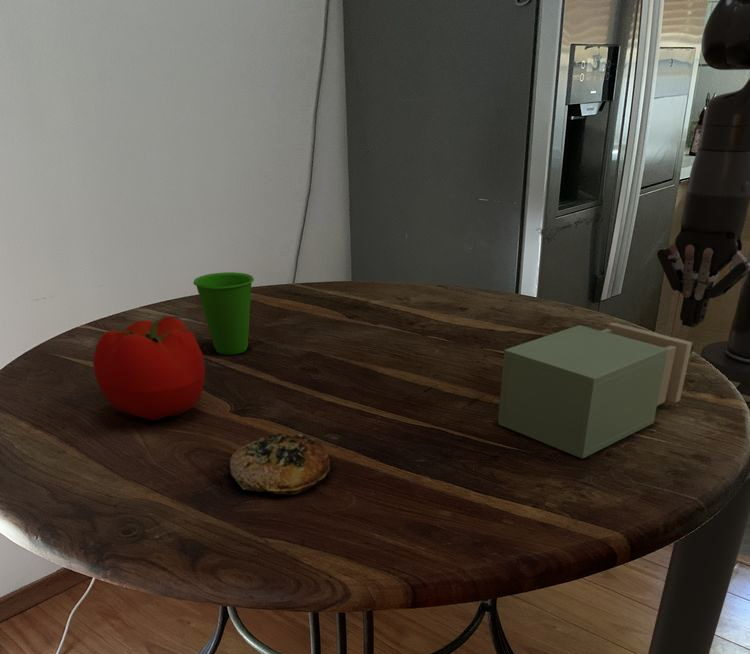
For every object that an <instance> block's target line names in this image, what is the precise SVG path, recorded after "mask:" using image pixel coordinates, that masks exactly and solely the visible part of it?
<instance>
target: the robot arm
mask: <svg viewBox="0 0 750 654" xmlns="http://www.w3.org/2000/svg"><path fill="white" fill-rule="evenodd" d="M701 53H702V56H703V60H704V62H705V64H707V65H708V66H709V67H710V68H711V69H713V70H719V71H750V0H719V1H718V2H717V3H716V5H715V6H714V8H713V9H712V11H711V14H709V17H708V19H707V21H706V24H705V27H704V30H703V32H702V37H701ZM749 206H750V78H748V80H747V82H746V83H745V84H744V85H743V87H741V88H739V89H738V90H735V91H732V92H726V93H722V94H718V95H716V96H713V97H712V98H711V99H709V101H708V102H707V104H706V107H705V110H704V113H703V117H702V123H701V129H700V133H699V137H698V144H697V149H696V153H695V156H694V159H693V162H692V166H691V170H690V173H689V178H688V182H687V189H686V194H685V201H684V204H683V209H682V215H681V219H680V220H681V221H680V230H679V232H678V233H677V235H676V237H675V239H674V242H673V243H672V244H670V245H669V246H667V247H664V248H662V249H659V250H658V251H657V252H656V257H657V259H658V260H659V263H660V265H661V268H662V270H663V272H664V274H665V276H666V279H667V281H668V283H669V286H670V287H671V290H673V291H674V292H676V291H677V292H679V293H680V294H682V297H683V298H682V303H681V309H680V313H679V319H680V321H681V325H682V326H685V327H690V328H695V327H697V326H699V325H700V324H701V323H703V322H704V320H705V319H706V314H707V309H708V305H709V301H710V299H714V298H718V297H720V296H723V295H725V294H726V293H727V292H729V290H731V289H732V288H733V287H734V286H735V285H736V284H738V283H739V282H740V281H741V280H742V279H743V280H742V281H741V282H742V283H741V287H740V290H739V295H738V298H737V303H736V308H735V312H734V316H733V317H732V322H731V326H730V330H729V334H728V338H727V341H728V344H727V347H726V350H725V355H726V356H727V357H728V358H730V359H732V360H734V361H737V362H740V363H744V364H749V365H750V251H749V252H748V257H746V256H745V255H744V253H743V252H742V249H743V243H742V238H741V236H742V233H743V230H744V228H745V222H746V219H747V214H748V211H749ZM680 260H681V261H680ZM730 263H731V264H730ZM729 264H730V265H729ZM728 265H729V268H728V270H729V272H728V273H727V274H726V275H725V276H723V277H722V278H721V279H720V280H719V281H718V279H719V277H720V273H721V271H722V270H723V269H724V268H726V267H727V266H728Z"/></svg>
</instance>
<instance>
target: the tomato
mask: <svg viewBox="0 0 750 654" xmlns="http://www.w3.org/2000/svg"><path fill="white" fill-rule="evenodd" d="M191 330H193V329H188V327H187V326H186V325H185V324H184V322H182V320H181V319H178V318H175V317H169V316H163V318H160V319H157V320H155V321H154V322H153V321H151V320H137V321H136V322H134V323H132V324H130V325H129V326H127V327H126V328H124V329H119V330H117V329H112V330H109V331H107V332H105V333H102V335H101V336H100V338H99V340H98V342H97V344H95V347H94V348H95V349H94V354H93V360H92V362H93V370H94V377H95V380H96V382H97V384H98V386H99V388H100V390H101V393H102V394H103V395H104V397H105V398H106V400H107V401H108V402H109V404H111V406H112V407H113V408H115V409H117V410H118V411H120V412H121V413H125V414H127V415H131V416H135V417H139V418H143V419H146V420H149V421H152V422H153V421H154V422H155V421H158V420H161V419H164V418H166V417H169V416H170V417H177V416H180V415H182V414H184V413H186V412H189V410H191V409H192V408H193V407H194V406H195V405H196V403H197V402H198V400H200V398H201V396H202V393H203V390H204V387H205V377H206V367H205V365H206V364H205V361H204V354H203V352H202V350H201V347H200V346H199V342H197V338H196V336H195V333H193V332H192V331H191Z"/></svg>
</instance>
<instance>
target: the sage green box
mask: <svg viewBox="0 0 750 654" xmlns="http://www.w3.org/2000/svg"><path fill="white" fill-rule="evenodd" d="M667 352H668V349H667V348H664V347H660V346H656V345H652V344H649V343H645V342H641V341H637V340H634V339H630V338H626V337H622V336H619V335H615V334H611V333H607V332H604V331H601V330H599V329H597V328H592V327H589V326H585V325H581V324H578V325H576V326H572V327H569V328H566V329H562V330H560V331H557V332H554V333H551V334H548V335H545V336H542V337H538V338H536V339H533V340H529V341H527V342H524V343H520V344H518V345H515V346H512V347H509V348H506V349H504V350H503V360H502V362H503V363H502V370H501V371H502V372H501V384H500V385H501V386H500V398H499V409H498V410H499V411H498V419H497V420H498V422H497V425H500V426H502V427H504V428H507V429H508V430H511V431H514V432H517V433H519V434H521V435H524V436H526V437H528V438H531V439H534V440H536V441H538V442H541V443H543V444H545V445H548V446H550V447H552V448H555V449H558V450H560V451H563V452H565V453H567V454H569V455H572V456H575V457H577V458H579V459H585V458H587V457H589V456H591V455H593V454H595V453H597V452H599V451H601V450H603V449H605V448H607V447H609V446H611V445H613V444H614V443H615V444H616V443H617V442H619V441H621V440H624V439H625V438H627V437H628V436H631V435H633V434H635V433H637V432H639V431H641V430H644V428H645V429H646V428H647V427H649V426H651V425H653V424H654V422H655V417H656V413H657V408H658V406H657V403H658V398H659V393H660V388H661V383H662V378H663V373H664V368H665V363H666V358H667Z"/></svg>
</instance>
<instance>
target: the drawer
mask: <svg viewBox="0 0 750 654" xmlns="http://www.w3.org/2000/svg"><path fill="white" fill-rule="evenodd" d="M600 331H604V332H607V333H611V334H615V335H619V336H622V337H626V338H630V339H634V340H637V341H641V342H645V343H649V344H652V345H656V346H660V347H664V348H667V349H668V352H667V358H666V363H665V368H664V373H663V378H662V383H661V388H660V393H659V398H658V403H657V407H658V406H659V405H662V404H664V403H665V402H667V401H668V402H671V403H674V404H676V403H678V402H680V401H681V398H682V393H683V388H684V384H685V379H686V374H687V370H688V365H689V360H690V355H691V354H693V351H694V344H693V342H692V341H688V340H686V339H685V340H684V339H682V338H681V339H680V338H678V337H677V338H676V337H672V336H669V335H665V334H660V333H657V332H653V331H651V330H650V331H649V330H647V329H646V330H645V329H641V328H638V327H634V326H630V325H626V324H623V323H618V322H615V321H613V322H610V323H608V325H607V328H605V329H601V330H600Z"/></svg>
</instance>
